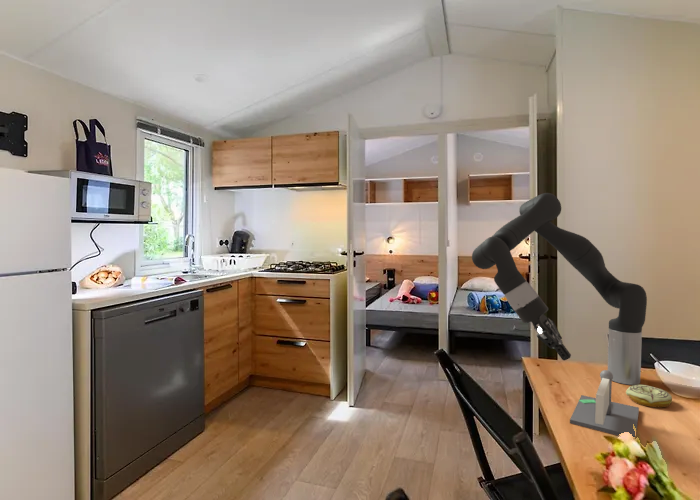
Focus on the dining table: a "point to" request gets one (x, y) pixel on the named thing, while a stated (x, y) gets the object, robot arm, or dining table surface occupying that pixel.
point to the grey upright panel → (603, 397)
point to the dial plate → (613, 422)
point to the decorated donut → (649, 396)
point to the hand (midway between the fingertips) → (567, 358)
